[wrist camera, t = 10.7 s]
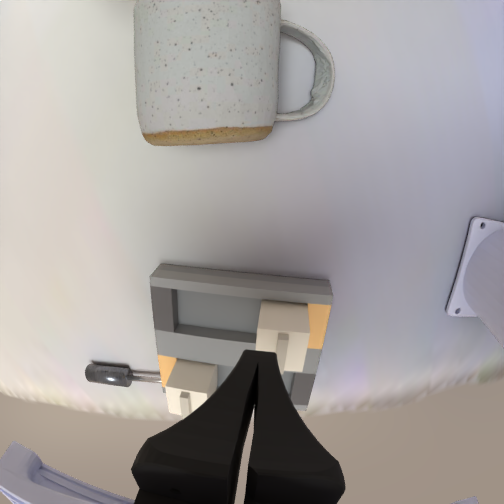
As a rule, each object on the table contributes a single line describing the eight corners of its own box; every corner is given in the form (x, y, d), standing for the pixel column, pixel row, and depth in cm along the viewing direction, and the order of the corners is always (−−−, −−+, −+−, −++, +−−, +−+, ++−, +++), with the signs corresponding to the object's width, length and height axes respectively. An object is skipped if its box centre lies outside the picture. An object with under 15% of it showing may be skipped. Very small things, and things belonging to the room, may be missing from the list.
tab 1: (217, 357, 24) (205, 399, 20) (217, 384, 25) (206, 425, 21) (180, 352, 24) (162, 391, 20) (182, 379, 25) (167, 418, 21)
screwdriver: (188, 367, 26) (182, 381, 25) (192, 382, 27) (187, 396, 25) (91, 360, 28) (83, 371, 26) (97, 374, 28) (89, 385, 27)
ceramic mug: (165, 144, 20) (108, 154, 13) (163, 29, 17) (110, -10, 10) (331, 140, 19) (361, 145, 12) (327, 20, 16) (350, -32, 9)
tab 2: (306, 299, 22) (310, 339, 17) (300, 335, 23) (302, 378, 18) (262, 295, 22) (256, 334, 17) (259, 331, 23) (253, 373, 19)
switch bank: (329, 280, 22) (333, 295, 20) (305, 392, 26) (306, 410, 24) (161, 263, 23) (149, 276, 21) (170, 376, 27) (163, 392, 25)
